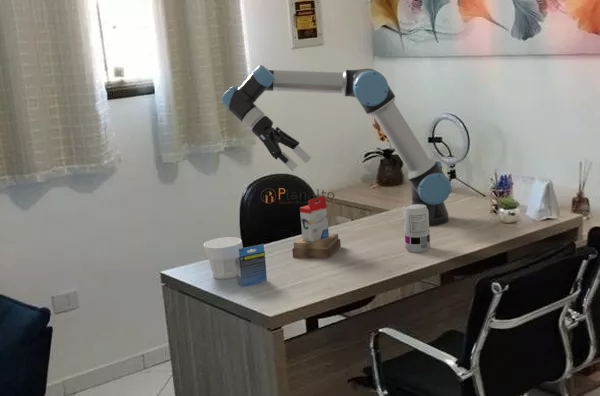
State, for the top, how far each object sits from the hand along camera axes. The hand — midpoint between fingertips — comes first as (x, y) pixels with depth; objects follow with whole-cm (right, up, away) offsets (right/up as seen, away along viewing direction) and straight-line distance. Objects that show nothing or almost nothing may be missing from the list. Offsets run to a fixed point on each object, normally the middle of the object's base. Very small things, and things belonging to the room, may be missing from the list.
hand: (301, 164), depth 281 cm
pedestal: (+5, -30, -2) cm, 31 cm away
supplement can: (+39, -29, -8) cm, 50 cm away
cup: (-25, -37, -18) cm, 48 cm away
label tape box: (-16, -38, -28) cm, 50 cm away
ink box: (+5, -26, -3) cm, 26 cm away
